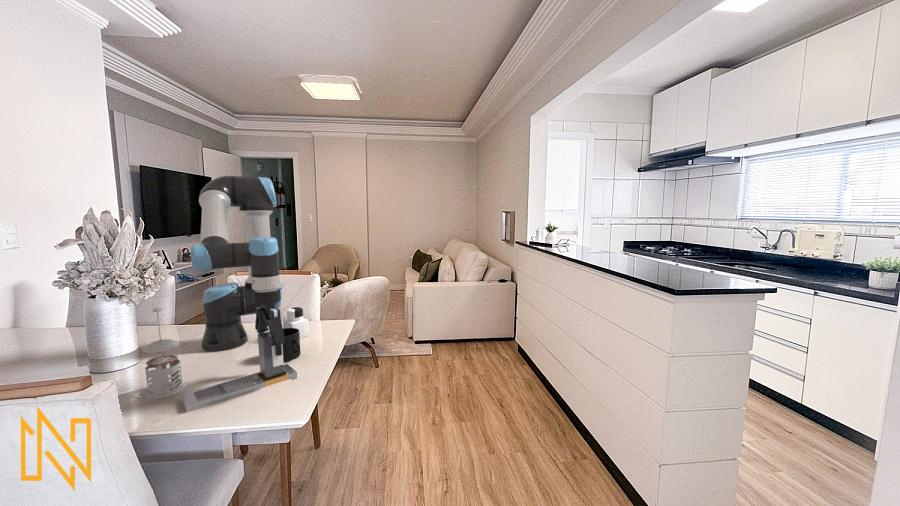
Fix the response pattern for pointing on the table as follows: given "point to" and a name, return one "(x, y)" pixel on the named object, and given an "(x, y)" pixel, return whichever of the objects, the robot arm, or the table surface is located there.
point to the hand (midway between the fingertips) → (271, 358)
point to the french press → (163, 368)
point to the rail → (232, 389)
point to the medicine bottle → (296, 321)
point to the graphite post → (267, 358)
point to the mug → (291, 344)
